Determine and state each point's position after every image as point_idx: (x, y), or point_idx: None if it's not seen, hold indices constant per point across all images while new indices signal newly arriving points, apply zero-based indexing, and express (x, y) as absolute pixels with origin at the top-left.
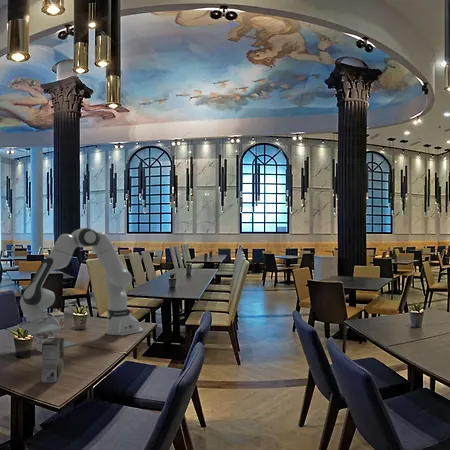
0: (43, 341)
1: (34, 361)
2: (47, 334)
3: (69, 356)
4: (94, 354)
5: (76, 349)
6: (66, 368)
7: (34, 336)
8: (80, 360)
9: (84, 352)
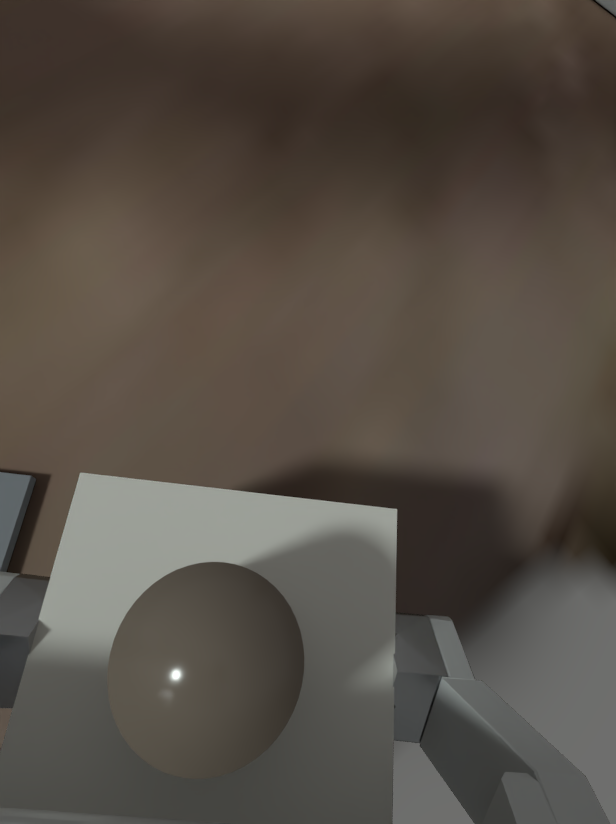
0: (380, 512)
1: (597, 324)
2: (215, 566)
3: (267, 164)
4: (91, 34)
5: (3, 270)
6: (484, 18)
7: (575, 801)
8: (296, 37)
9: (75, 132)
